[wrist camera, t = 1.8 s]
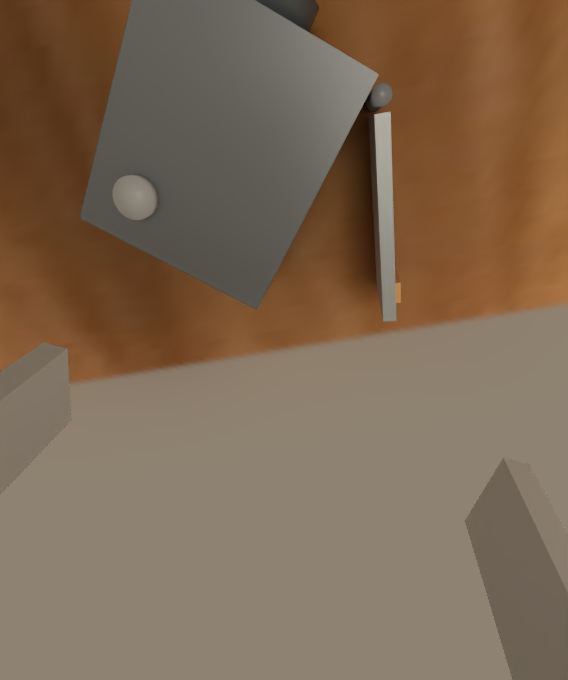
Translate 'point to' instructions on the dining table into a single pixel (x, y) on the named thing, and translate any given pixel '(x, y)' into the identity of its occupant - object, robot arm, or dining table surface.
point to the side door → (383, 214)
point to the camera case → (222, 135)
